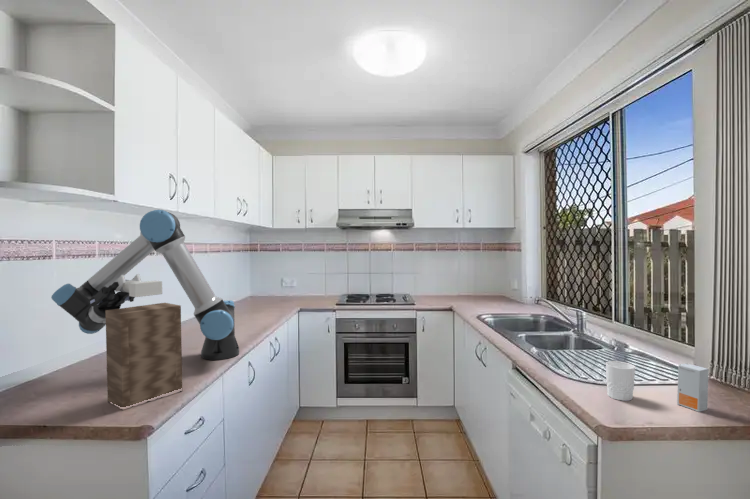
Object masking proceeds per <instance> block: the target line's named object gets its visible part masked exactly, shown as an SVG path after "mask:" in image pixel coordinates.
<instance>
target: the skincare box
mask: <svg viewBox="0 0 750 499" xmlns="http://www.w3.org/2000/svg"><path fill="white" fill-rule="evenodd" d="M677 367H678V368H677V369H678V370H677V372H678V373H677V397H676V398H677V399H676V404H677V405H679V406H681V407H684V408H686V409H689V410H692V411H696V412H698V413H699V412H700V413H701V412H703V411H707V410H708V401H709V400H708V398H709V371H710V370H709V368H708V367H703V366H698V365H694V364H691V363H688V362H687V363H681V364H678V366H677Z"/></svg>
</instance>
